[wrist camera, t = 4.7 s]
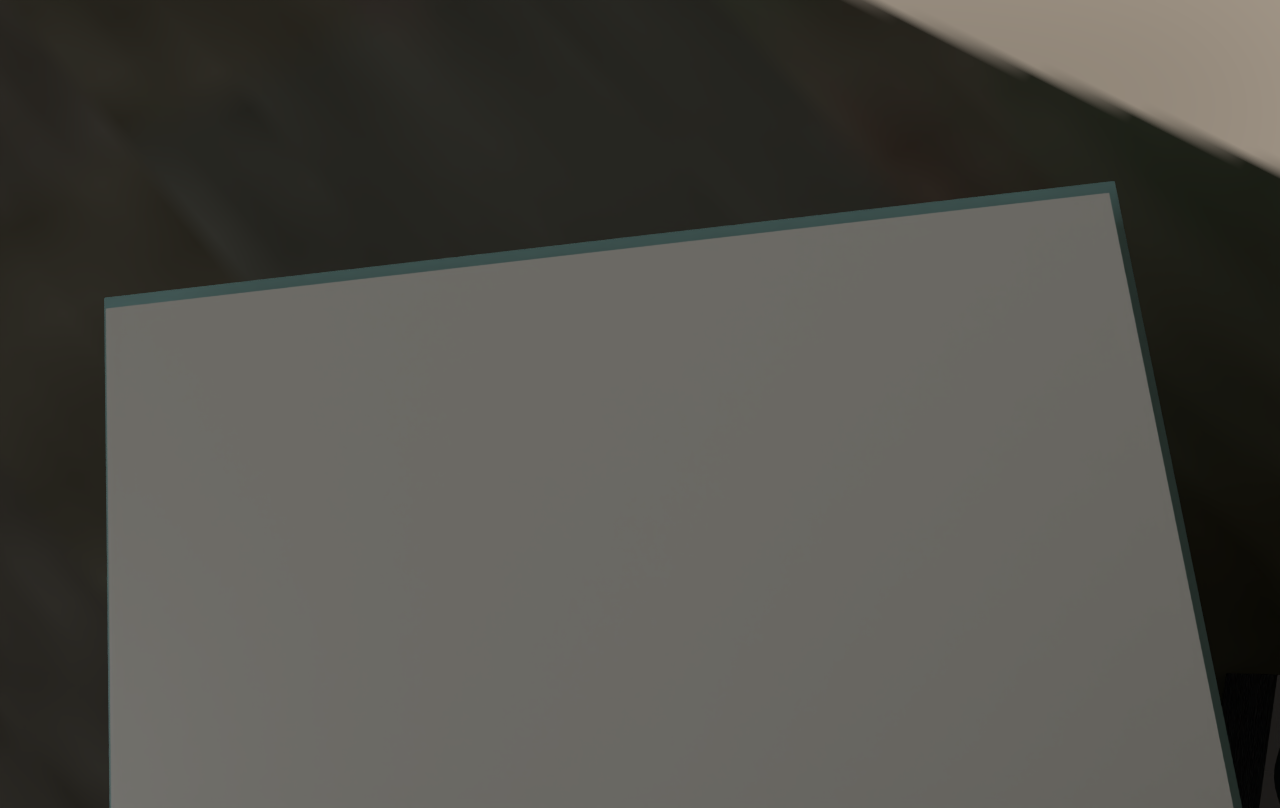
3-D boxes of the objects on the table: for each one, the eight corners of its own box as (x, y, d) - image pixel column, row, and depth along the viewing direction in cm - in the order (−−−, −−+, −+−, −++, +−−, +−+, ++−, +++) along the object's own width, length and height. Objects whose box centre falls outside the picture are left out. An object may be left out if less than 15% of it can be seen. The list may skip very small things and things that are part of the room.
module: (882, 859, 16) (1414, 1410, 4) (523, 897, 17) (67, 1540, 4) (832, 501, 18) (1146, 146, 5) (494, 538, 18) (63, 272, 6)
